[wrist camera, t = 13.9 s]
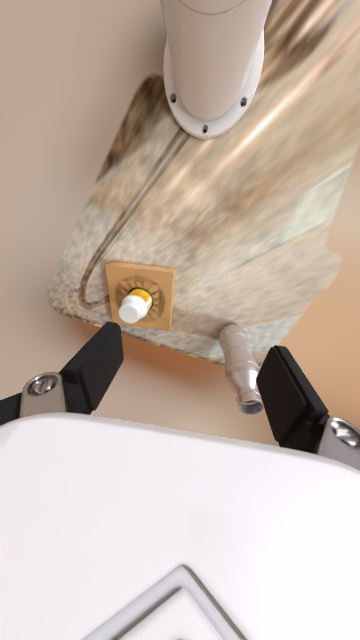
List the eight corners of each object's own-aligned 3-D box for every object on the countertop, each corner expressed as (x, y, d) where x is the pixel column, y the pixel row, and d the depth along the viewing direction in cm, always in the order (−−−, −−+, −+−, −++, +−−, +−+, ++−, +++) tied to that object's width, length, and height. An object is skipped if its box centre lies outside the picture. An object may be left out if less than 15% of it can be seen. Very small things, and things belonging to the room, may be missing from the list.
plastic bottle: (214, 339, 44) (222, 415, 27) (223, 317, 41) (238, 388, 23) (238, 345, 44) (262, 424, 27) (249, 324, 41) (284, 399, 24)
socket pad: (111, 261, 37) (104, 264, 34) (175, 268, 36) (173, 272, 34) (118, 317, 44) (112, 323, 41) (171, 324, 43) (169, 330, 41)
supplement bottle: (157, 304, 41) (146, 325, 33) (137, 307, 42) (121, 328, 34) (151, 282, 38) (137, 299, 30) (129, 286, 39) (110, 304, 31)
